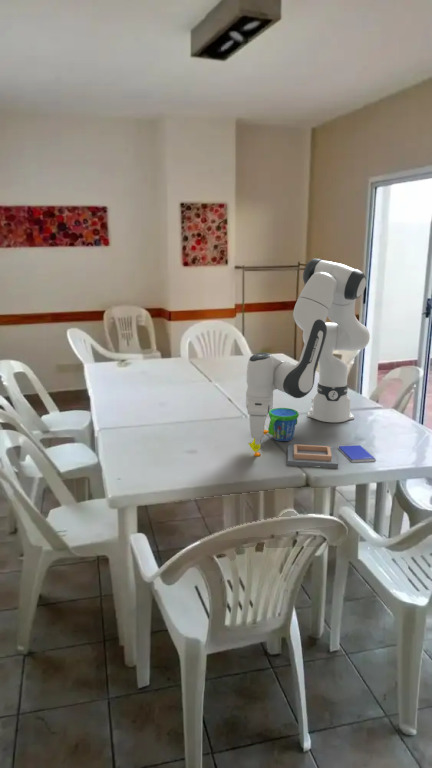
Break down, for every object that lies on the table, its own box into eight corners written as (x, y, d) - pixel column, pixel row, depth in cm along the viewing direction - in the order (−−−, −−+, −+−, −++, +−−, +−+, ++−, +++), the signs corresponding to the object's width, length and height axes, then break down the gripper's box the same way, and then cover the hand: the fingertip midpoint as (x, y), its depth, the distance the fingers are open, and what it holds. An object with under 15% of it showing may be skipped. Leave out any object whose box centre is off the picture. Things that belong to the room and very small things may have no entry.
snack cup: (279, 447, 197) (280, 419, 195) (257, 439, 205) (258, 412, 202) (307, 437, 207) (308, 410, 205) (285, 430, 215) (286, 404, 212)
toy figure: (266, 453, 192) (267, 419, 189) (268, 456, 188) (269, 422, 186) (247, 453, 191) (247, 419, 188) (248, 457, 188) (249, 422, 185)
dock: (287, 449, 195) (288, 441, 194) (334, 452, 193) (335, 444, 192) (287, 465, 182) (287, 456, 181) (337, 468, 180) (338, 459, 179)
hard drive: (375, 458, 186) (360, 445, 198) (352, 459, 184) (338, 445, 196) (375, 462, 186) (360, 449, 198) (351, 463, 185) (338, 450, 197)
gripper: (251, 393, 195) (250, 431, 199) (247, 411, 176) (246, 452, 179) (270, 394, 195) (268, 432, 198) (267, 412, 175) (266, 453, 179)
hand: (258, 442), depth 189 cm, fingers closed on toy figure, 2 cm apart
